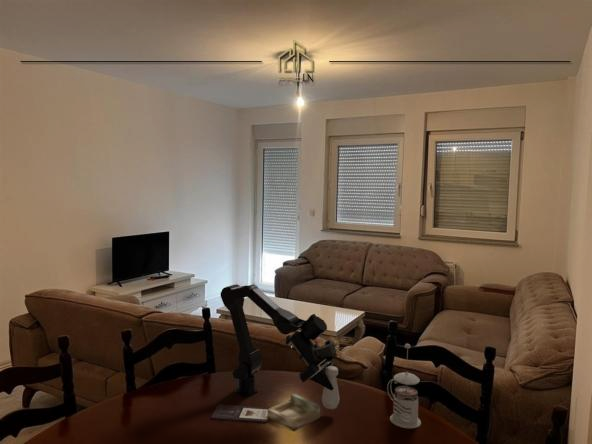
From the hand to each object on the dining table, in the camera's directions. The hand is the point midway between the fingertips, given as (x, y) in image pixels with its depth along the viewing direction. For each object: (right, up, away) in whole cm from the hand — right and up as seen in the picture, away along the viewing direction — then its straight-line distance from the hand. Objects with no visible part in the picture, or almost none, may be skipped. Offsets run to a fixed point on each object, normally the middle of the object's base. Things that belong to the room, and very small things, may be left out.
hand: (334, 387), depth 139 cm
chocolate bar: (-30, -10, +1) cm, 32 cm away
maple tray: (-13, -9, -1) cm, 16 cm away
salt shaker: (-1, -7, +1) cm, 7 cm away
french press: (+22, -10, -1) cm, 24 cm away
